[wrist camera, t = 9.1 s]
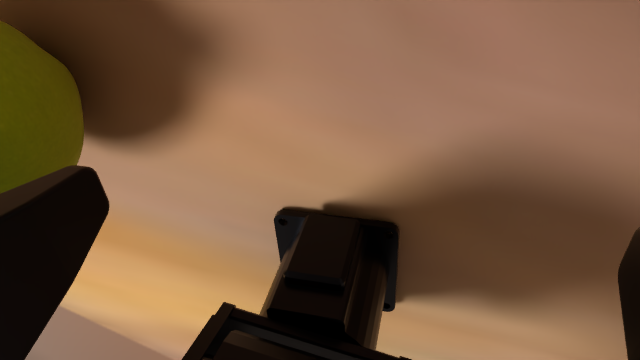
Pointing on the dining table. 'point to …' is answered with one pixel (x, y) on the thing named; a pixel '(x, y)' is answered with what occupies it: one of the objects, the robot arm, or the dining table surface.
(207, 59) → the dining table surface
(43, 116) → the fruit
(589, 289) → the dining table surface
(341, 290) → the robot arm
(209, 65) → the dining table surface
